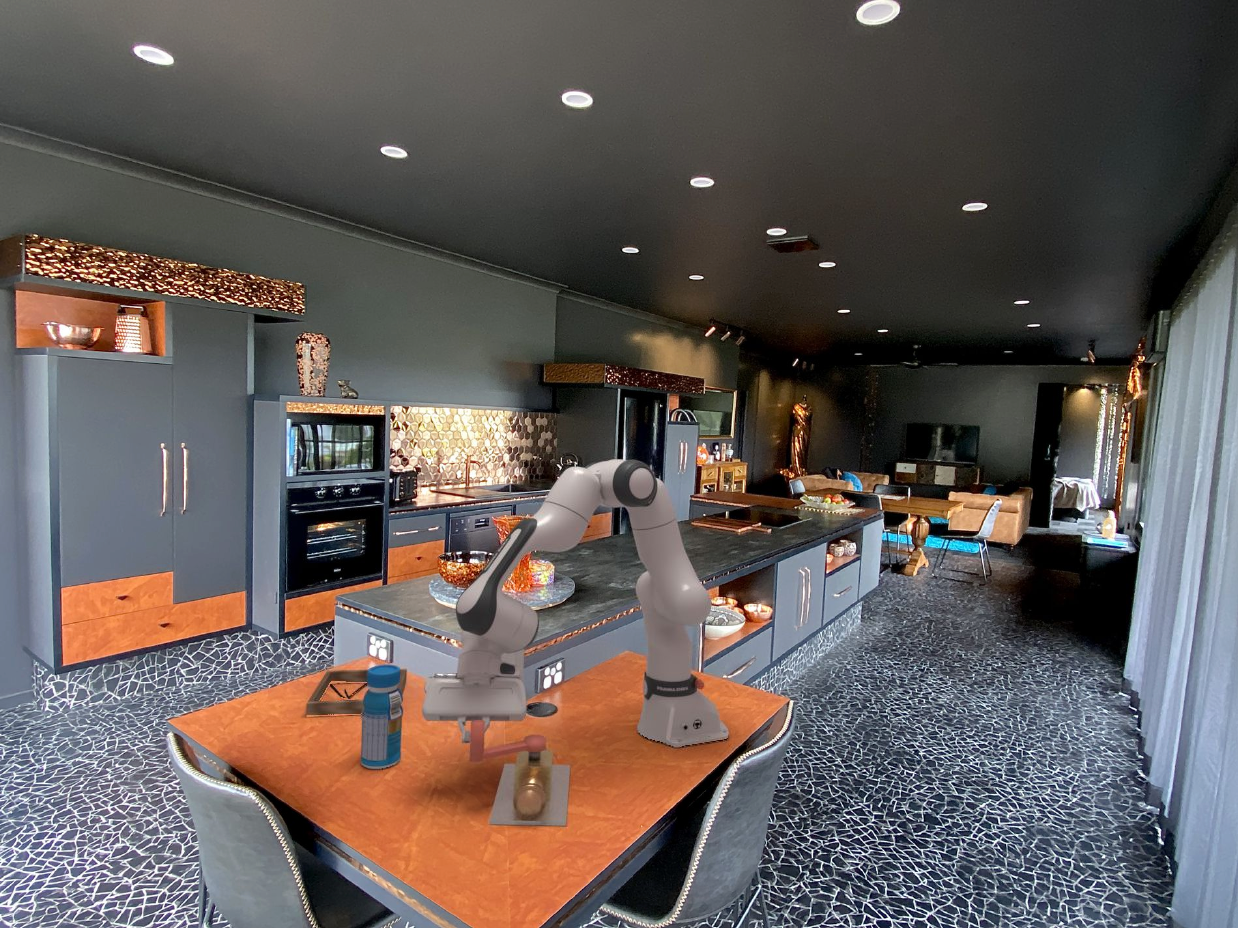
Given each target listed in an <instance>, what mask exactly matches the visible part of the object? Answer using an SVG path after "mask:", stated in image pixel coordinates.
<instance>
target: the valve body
mask: <svg viewBox="0 0 1238 928" xmlns="http://www.w3.org/2000/svg"><path fill="white" fill-rule="evenodd" d="M553 762H554V750H551V749H548V748H547V747H546V749H545V750H544V751H541V752H528V751H521V752H517V755H516V759H515V763H504V766H503V769H502V773H501V775H500V780H499V783H498V786H497V791H496V794H495V796H494V797H495V798H494V801H493V804H492V809H491V812H490V816H489V819H488V820H489V821H488V825H501V826H502V825H503V826H510V825H511V826H548V827H550V826H553V827H555V826H556V827H558V826H559V827H566V826H567V818H568V803H569V789H570V776H571V775H570V772H571V765H570V764H553Z"/></svg>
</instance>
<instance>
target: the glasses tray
mask: <svg viewBox="0 0 1238 928" xmlns="http://www.w3.org/2000/svg"><path fill="white" fill-rule="evenodd" d="M368 670H369V669H346V670H344V669H343V670H342V669H341V670H338V669H337V670H327V671H326V672H325V674H324V676H323V677H322V678H321V679H320V681H319V683H318V684H317V686H316V688H315V690H314V691H313V693H312V694H311V696H310V697H309V699H308V700H307V702H306V708H305V709H306V710H305V711H306V712H305V716H306V715H328V714H329V715H330V714H331V715H332V714H333V715H334V714H361V713H362V710H363V709H364V706H363V699H355V700H344V699H343V700H321V701H319V700H320V698H321V697H322V695H323V693H324V692H325V690H326V688H327V687H328V685H329V683H330V682H331V681H346V682H367V672H368ZM407 672H408V668H400V682H399V685H397V686H398V688H399V689H400V691H401V693H402V696H403V694H404V691H405V687H406V683H407V674H408V673H407Z"/></svg>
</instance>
